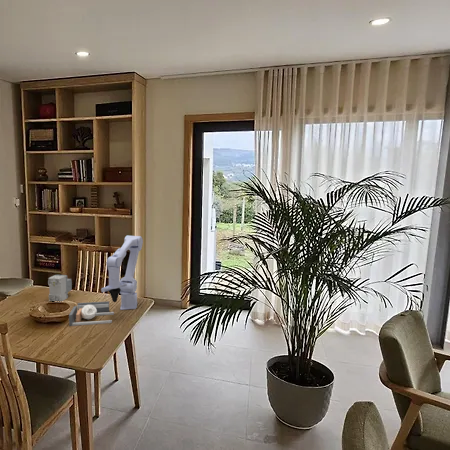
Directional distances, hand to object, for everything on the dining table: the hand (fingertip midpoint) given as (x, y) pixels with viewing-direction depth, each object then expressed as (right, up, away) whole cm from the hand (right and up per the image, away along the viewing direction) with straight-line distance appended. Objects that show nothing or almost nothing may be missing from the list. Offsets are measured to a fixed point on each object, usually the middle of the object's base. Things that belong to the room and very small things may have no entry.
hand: (114, 301), depth 177 cm
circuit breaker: (-44, -5, +27) cm, 52 cm away
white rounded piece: (-14, -9, -1) cm, 17 cm away
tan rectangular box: (-18, -9, -4) cm, 20 cm away
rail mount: (-12, -9, 0) cm, 15 cm away
